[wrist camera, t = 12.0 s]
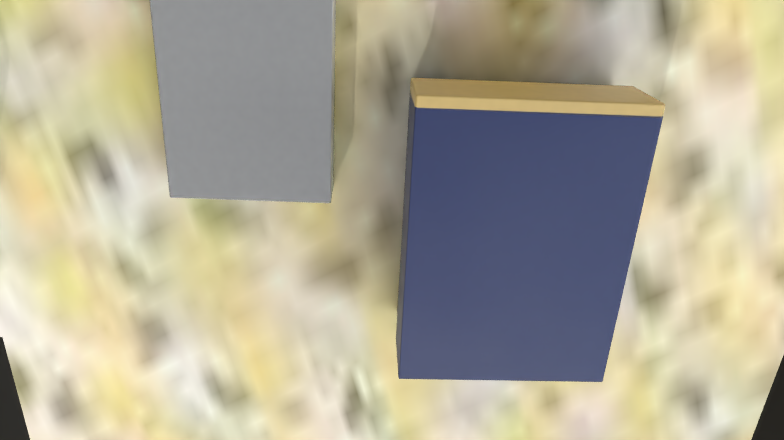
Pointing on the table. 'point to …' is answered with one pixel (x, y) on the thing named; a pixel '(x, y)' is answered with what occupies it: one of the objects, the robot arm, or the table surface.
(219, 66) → the grey stack
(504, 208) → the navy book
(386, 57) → the table surface
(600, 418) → the table surface
